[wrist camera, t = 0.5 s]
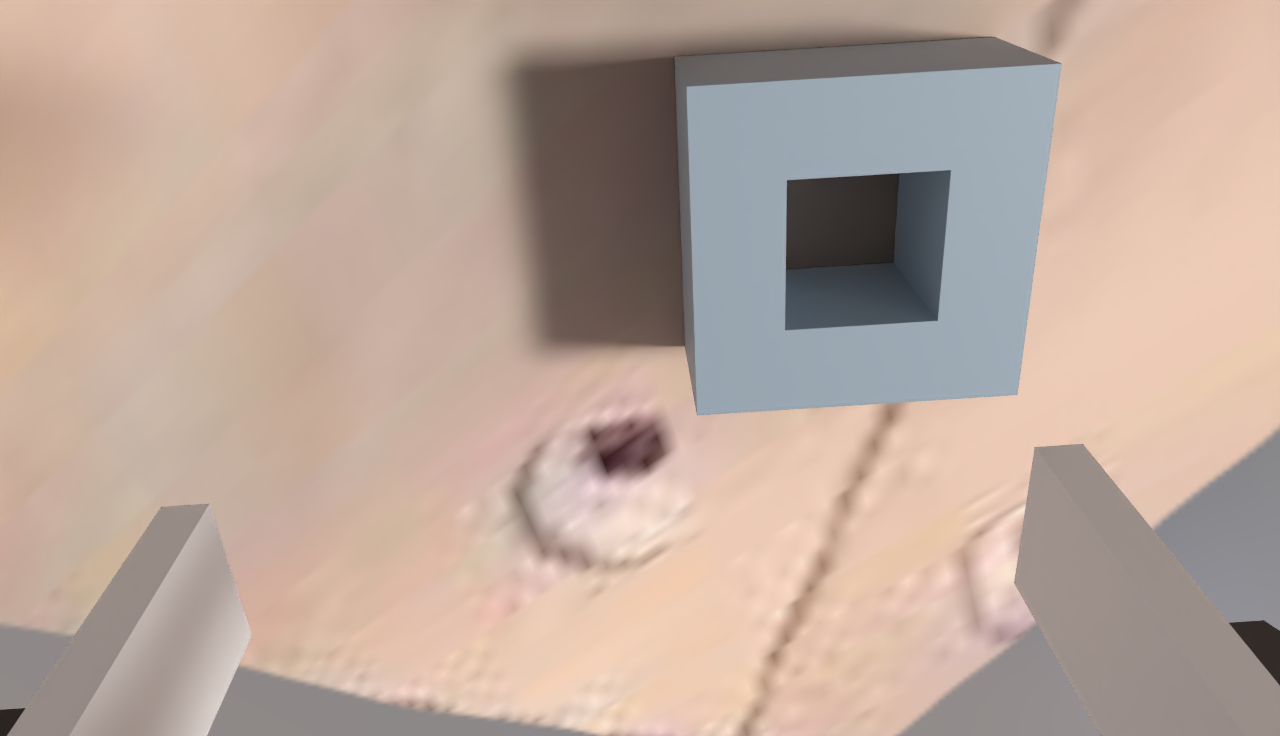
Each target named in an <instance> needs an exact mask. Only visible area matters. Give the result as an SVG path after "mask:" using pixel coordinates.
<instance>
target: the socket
mask: <svg viewBox="0 0 1280 736" xmlns="http://www.w3.org/2000/svg"><path fill="white" fill-rule="evenodd" d="M674 62H675V89H676V116H677V143H678V170H679V197H680V224H681V251H682V278H683V305H684V332H685V350H686V355H687V361H688V367H689V372H690V378H691V384H692V389H693V395H694V401H695V406H696V412H697V415H710V414H726V413H741V412H757V411H773V410H789V409H804V408H820V407H836V406H851V405H867V404H883V403H899V402H914V401H930V400H946V399H961V398H977V397H993V396H1009V395H1017V394H1018V387H1019V379H1020V372H1021V364H1022V357H1023V349H1024V341H1025V334H1026V326H1027V319H1028V311H1029V304H1030V296H1031V289H1032V281H1033V274H1034V266H1035V259H1036V251H1037V244H1038V236H1039V229H1040V221H1041V214H1042V206H1043V198H1044V191H1045V183H1046V176H1047V168H1048V161H1049V153H1050V146H1051V138H1052V131H1053V123H1054V116H1055V108H1056V101H1057V93H1058V86H1059V78H1060V71H1061V63H1059V62H1056V61H1054V60H1051V59H1048V58H1046V57H1043V56H1041V55H1038V54H1036V53H1033V52H1031V51H1028V50H1026V49H1023V48H1021V47H1018V46H1016V45H1013V44H1011V43H1008V42H1006V41H1003V40H1001V39H998V38H996V37H986V38H969V39H953V40H937V41H920V42H904V43H888V44H872V45H855V46H839V47H823V48H806V49H790V50H774V51H757V52H741V53H725V54H709V55H692V56H676V57H674ZM896 173H899V186H898V202H897V217H896V232H895V248H894V263H880V264H864V265H848V266H832V267H816V268H800V269H786V214H787V180H799V179H815V178H831V177H847V176H863V175H879V174H896Z"/></svg>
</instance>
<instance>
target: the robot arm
mask: <svg viewBox="0 0 1280 736" xmlns="http://www.w3.org/2000/svg"><path fill="white" fill-rule="evenodd" d="M1014 583H1015V585H1016V587H1017V589H1018V590H1019V592H1020V594H1021V596H1022V598H1023V599H1024V601H1025V603H1026V605H1027V606H1028V608H1029V610H1030V612H1031V613H1032V615H1033V617H1034V619H1035V621H1036V622H1037V624H1038V626H1039V628H1040V629H1041V631H1042V633H1043V635H1044V636H1045V638H1046V640H1047V642H1048V643H1049V645H1050V647H1051V649H1052V651H1053V652H1054V654H1055V656H1056V657H1057V659H1058V661H1059V663H1060V665H1061V666H1062V668H1063V670H1064V672H1065V674H1066V675H1067V677H1068V679H1069V681H1070V682H1071V684H1072V686H1073V688H1074V689H1075V691H1076V693H1077V695H1078V696H1079V698H1080V700H1081V702H1082V704H1083V705H1084V707H1085V709H1086V711H1087V712H1088V714H1089V715H1090V718H1091V719H1092V721H1093V723H1094V725H1095V726H1096V728H1097V730H1098V732H1099V733H1100V735H1101V736H1280V631H1279V630H1277V629H1276V628H1274V627H1272V626H1271V625H1270V624H1268V623H1267V622H1265V621H1264V620H1263V621H1249V622H1236V623H1228V622H1227V620H1226V619H1225V618H1224V617H1223V616H1222V614H1221V613H1220V612H1219V610H1218V609H1217V608H1216V607H1215V605H1214V604H1213V603H1212V602H1211V601H1210V599H1209V598H1208V597H1207V596H1206V594H1205V593H1204V592H1203V591H1202V590H1201V588H1200V587H1199V586H1198V585H1197V583H1196V582H1195V581H1194V580H1193V579H1192V577H1191V576H1190V575H1189V574H1188V572H1187V571H1186V570H1185V569H1184V568H1183V566H1182V565H1181V564H1180V563H1179V561H1178V560H1177V559H1176V558H1175V556H1174V555H1173V554H1172V553H1171V552H1170V550H1169V549H1168V548H1167V547H1166V546H1165V544H1164V543H1163V542H1162V541H1161V539H1160V538H1159V537H1158V536H1157V535H1156V533H1155V532H1154V531H1153V529H1152V528H1151V527H1150V526H1149V525H1148V523H1147V522H1146V521H1145V520H1144V518H1143V517H1142V516H1141V515H1140V514H1139V512H1138V511H1137V510H1136V509H1135V507H1134V506H1133V505H1132V504H1131V503H1130V501H1129V500H1128V499H1127V498H1126V496H1125V495H1124V494H1123V493H1122V491H1121V490H1120V489H1119V488H1118V487H1117V485H1116V484H1115V483H1114V482H1113V480H1112V479H1111V478H1110V477H1109V476H1108V474H1107V473H1106V472H1105V471H1104V469H1103V468H1102V467H1101V466H1100V464H1099V463H1098V462H1097V461H1096V460H1095V458H1094V457H1093V456H1092V455H1091V453H1090V452H1089V451H1088V450H1087V449H1086V447H1085V446H1084V445H1083V444H1076V445H1061V446H1047V447H1035V449H1034V456H1033V463H1032V469H1031V476H1030V482H1029V489H1028V496H1027V502H1026V509H1025V515H1024V522H1023V529H1022V535H1021V542H1020V548H1019V555H1018V562H1017V568H1016V575H1015V581H1014ZM251 636H252V635H251V632H250V628H249V625H248V622H247V619H246V616H245V613H244V610H243V607H242V603H241V600H240V597H239V594H238V591H237V588H236V585H235V581H234V578H233V575H232V572H231V569H230V566H229V563H228V560H227V556H226V553H225V550H224V547H223V544H222V541H221V538H220V535H219V531H218V528H217V525H216V522H215V519H214V516H213V513H212V510H211V506H210V504H198V505H183V506H169V507H161V508H160V510H159V511H158V513H157V514H156V516H155V517H154V519H153V520H152V522H151V523H150V525H149V526H148V528H147V529H146V530H145V532H144V533H143V535H142V536H141V538H140V539H139V541H138V542H137V544H136V545H135V547H134V548H133V550H132V551H131V553H130V554H129V556H128V557H127V559H126V560H125V562H124V563H123V565H122V566H121V568H120V569H119V570H118V572H117V573H116V575H115V576H114V578H113V579H112V581H111V582H110V584H109V585H108V587H107V588H106V590H105V591H104V593H103V594H102V596H101V597H100V599H99V600H98V602H97V603H96V605H95V606H94V608H93V609H92V610H91V612H90V613H89V615H88V616H87V618H86V619H85V621H84V622H83V624H82V625H81V627H80V628H79V630H78V631H77V633H76V634H75V636H74V637H73V639H72V640H71V642H70V643H69V645H68V646H67V648H66V649H65V651H64V652H63V653H62V655H61V656H60V658H59V659H58V661H57V662H56V664H55V665H54V667H53V668H52V670H51V671H50V673H49V674H48V676H47V677H46V679H45V680H44V682H43V683H42V685H41V686H40V688H39V689H38V691H37V692H36V693H35V695H34V696H33V698H32V699H31V701H30V702H29V704H28V706H27V707H26V708H22V709H7V710H0V736H207V734H208V732H209V730H210V727H211V725H212V723H213V721H214V718H215V716H216V714H217V712H218V710H219V707H220V705H221V703H222V701H223V698H224V696H225V694H226V692H227V689H228V687H229V685H230V683H231V681H232V678H233V676H234V674H235V672H236V669H237V667H238V665H239V663H240V661H241V658H242V656H243V654H244V652H245V649H246V647H247V645H248V643H249V640H250V638H251Z"/></svg>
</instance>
